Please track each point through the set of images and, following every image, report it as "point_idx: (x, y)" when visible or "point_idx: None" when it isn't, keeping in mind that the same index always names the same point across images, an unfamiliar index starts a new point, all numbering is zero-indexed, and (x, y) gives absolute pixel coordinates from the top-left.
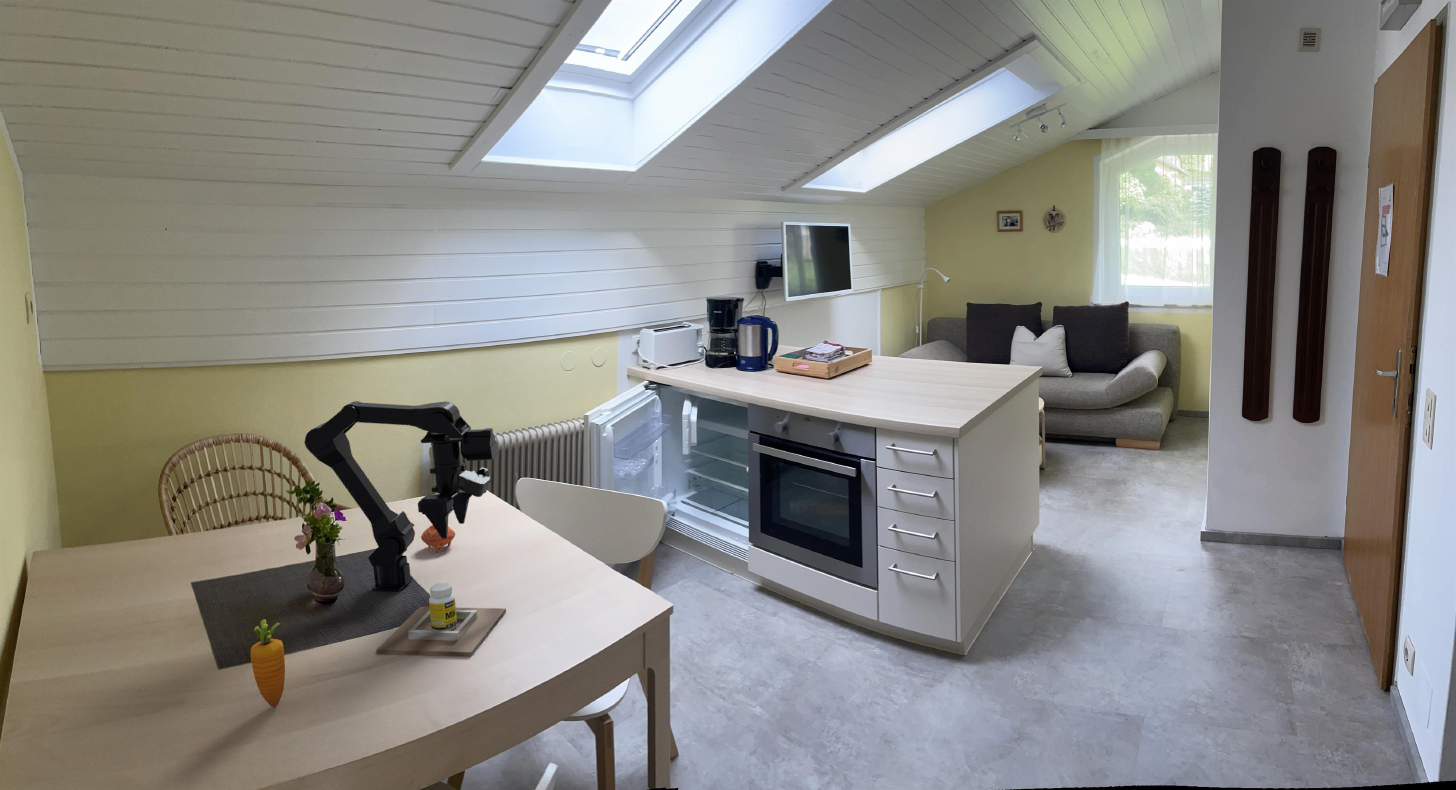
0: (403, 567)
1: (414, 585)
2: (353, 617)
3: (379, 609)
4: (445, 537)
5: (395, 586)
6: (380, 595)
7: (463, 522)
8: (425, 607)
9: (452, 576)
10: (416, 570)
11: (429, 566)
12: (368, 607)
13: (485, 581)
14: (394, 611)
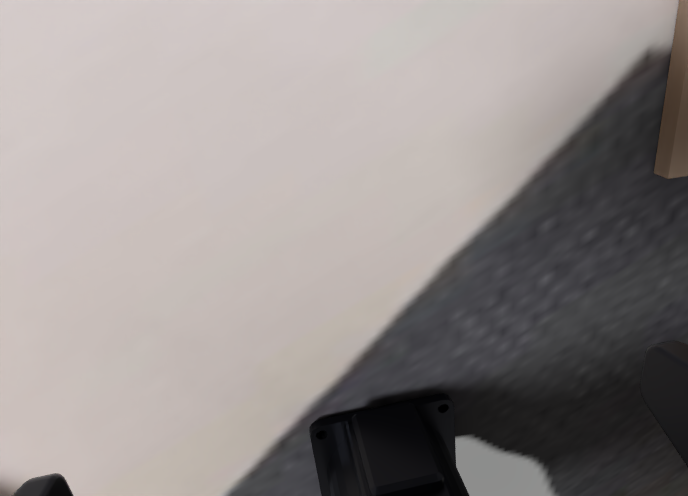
0: (439, 477)
1: (371, 374)
2: None
3: (622, 352)
4: (685, 353)
5: (431, 428)
6: (488, 432)
7: (56, 484)
8: (680, 146)
9: (219, 265)
10: (198, 471)
11: (130, 450)
12: (601, 401)
13: (237, 2)
14: (648, 283)
